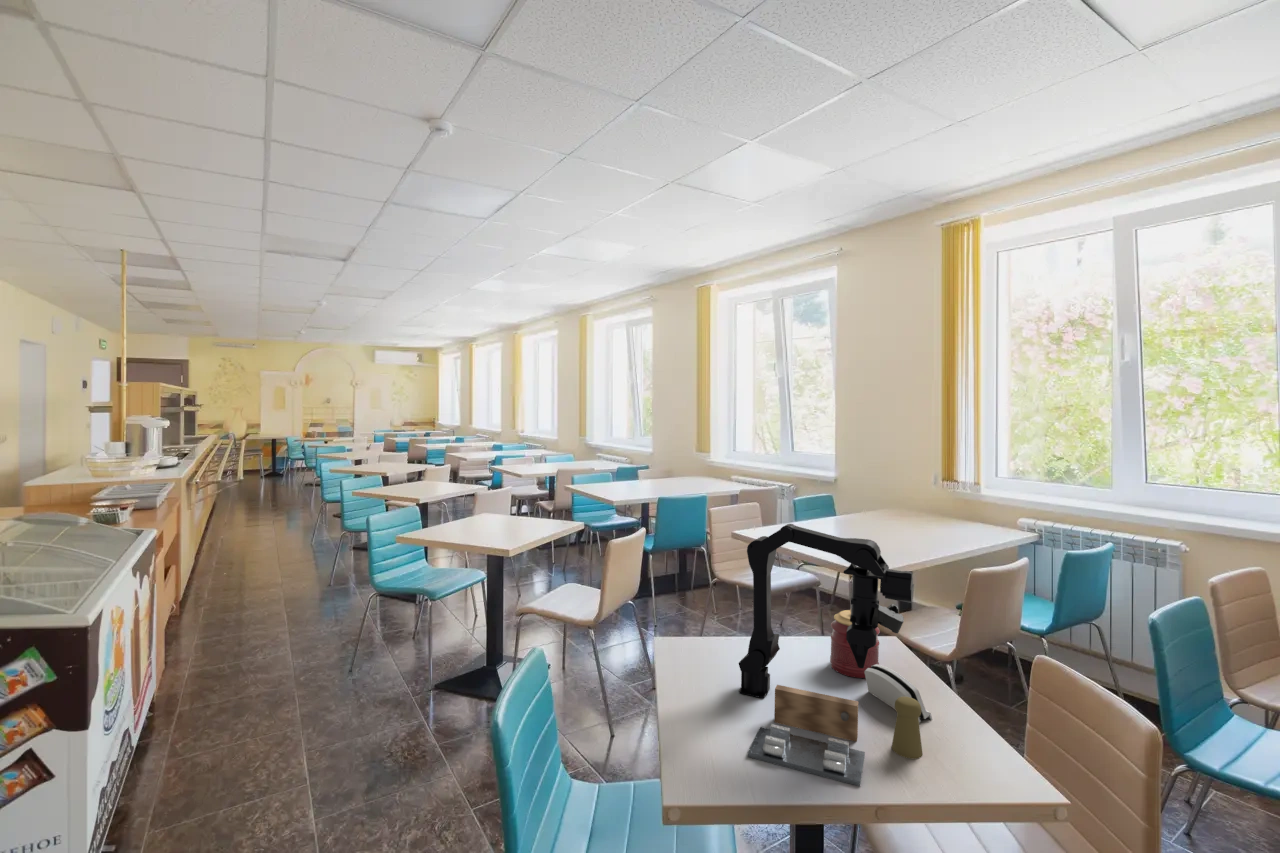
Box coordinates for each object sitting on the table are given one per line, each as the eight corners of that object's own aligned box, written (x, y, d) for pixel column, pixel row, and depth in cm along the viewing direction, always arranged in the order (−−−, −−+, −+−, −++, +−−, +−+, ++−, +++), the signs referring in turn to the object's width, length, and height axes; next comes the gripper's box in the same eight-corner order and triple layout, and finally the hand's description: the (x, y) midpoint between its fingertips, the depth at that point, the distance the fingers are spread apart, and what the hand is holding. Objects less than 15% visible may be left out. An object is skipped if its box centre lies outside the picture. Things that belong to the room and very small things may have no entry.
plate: (747, 756, 122) (748, 740, 122) (760, 731, 132) (760, 715, 132) (860, 786, 113) (860, 768, 112) (864, 756, 122) (864, 740, 122)
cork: (886, 743, 128) (887, 693, 128) (912, 742, 128) (913, 692, 128) (900, 759, 122) (902, 706, 122) (928, 758, 122) (929, 706, 122)
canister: (838, 655, 174) (839, 596, 174) (884, 667, 167) (885, 605, 166) (823, 670, 164) (824, 608, 164) (871, 683, 156) (873, 618, 156)
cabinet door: (773, 725, 135) (773, 691, 135) (776, 718, 138) (777, 684, 138) (856, 745, 127) (856, 708, 127) (857, 737, 130) (858, 701, 130)
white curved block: (933, 720, 138) (923, 682, 136) (918, 730, 136) (907, 691, 135) (883, 688, 154) (873, 654, 152) (869, 696, 152) (859, 662, 151)
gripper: (902, 612, 126) (899, 684, 126) (902, 589, 143) (899, 652, 143) (847, 604, 130) (844, 673, 131) (853, 582, 147) (851, 643, 148)
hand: (862, 660), depth 138 cm, fingers open, 9 cm apart
